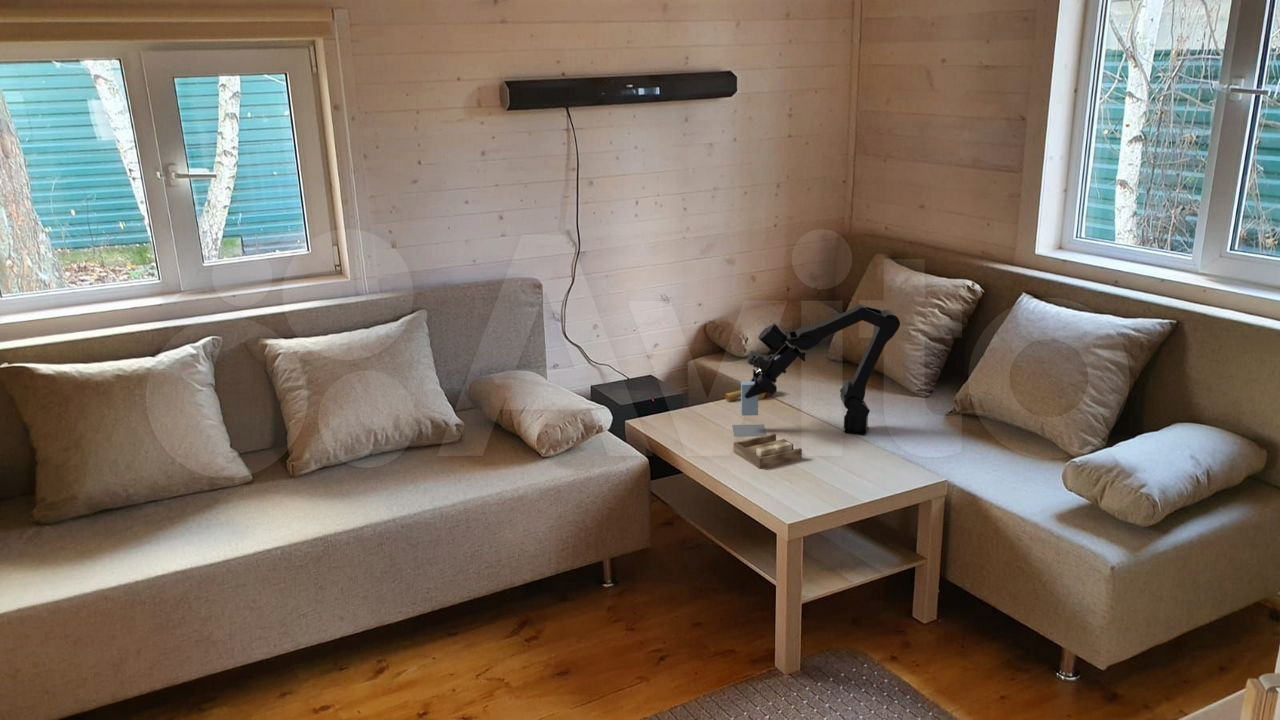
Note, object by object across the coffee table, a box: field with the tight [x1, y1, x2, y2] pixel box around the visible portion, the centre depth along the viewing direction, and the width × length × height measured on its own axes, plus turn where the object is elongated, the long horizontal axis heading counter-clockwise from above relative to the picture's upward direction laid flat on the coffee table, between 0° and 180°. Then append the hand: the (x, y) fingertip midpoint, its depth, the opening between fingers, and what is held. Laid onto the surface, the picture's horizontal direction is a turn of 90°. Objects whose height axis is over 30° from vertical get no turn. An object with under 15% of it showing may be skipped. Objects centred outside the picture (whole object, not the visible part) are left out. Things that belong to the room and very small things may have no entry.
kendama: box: [724, 380, 772, 403], centre depth 329 cm, size 8×6×18 cm
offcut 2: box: [773, 441, 793, 454], centre depth 276 cm, size 5×2×4 cm, turn 116°
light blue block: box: [740, 381, 759, 417], centre depth 296 cm, size 5×3×10 cm, turn 88°
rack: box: [733, 433, 803, 470], centre depth 279 cm, size 14×14×4 cm
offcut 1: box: [756, 446, 775, 457], centre depth 274 cm, size 5×2×4 cm, turn 116°
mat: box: [731, 423, 767, 438], centre depth 299 cm, size 10×10×1 cm
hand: (745, 395), depth 296 cm, fingers closed on light blue block, 3 cm apart
